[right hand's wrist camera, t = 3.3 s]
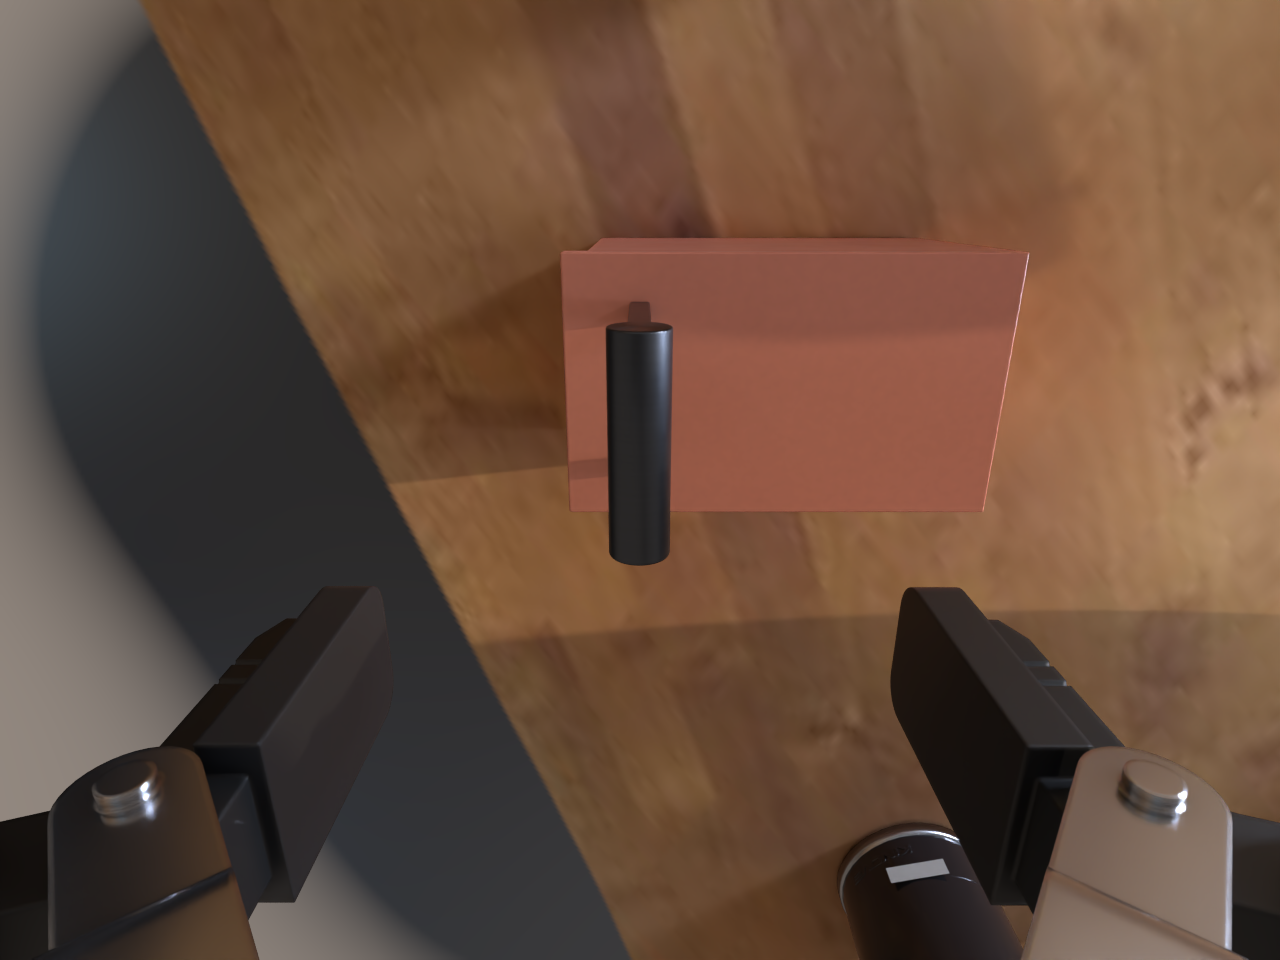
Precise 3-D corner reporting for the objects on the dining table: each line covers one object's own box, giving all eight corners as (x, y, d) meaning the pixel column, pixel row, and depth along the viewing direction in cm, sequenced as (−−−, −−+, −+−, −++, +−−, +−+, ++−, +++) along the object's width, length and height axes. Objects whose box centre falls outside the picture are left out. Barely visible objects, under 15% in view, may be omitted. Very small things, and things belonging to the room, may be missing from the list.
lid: (571, 504, 29) (546, 611, 21) (562, 250, 26) (528, 271, 18) (974, 504, 29) (1094, 612, 21) (1018, 250, 26) (1179, 270, 18)
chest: (604, 431, 38) (592, 503, 29) (600, 238, 35) (586, 250, 26) (893, 431, 38) (974, 503, 29) (918, 238, 35) (1018, 250, 26)
